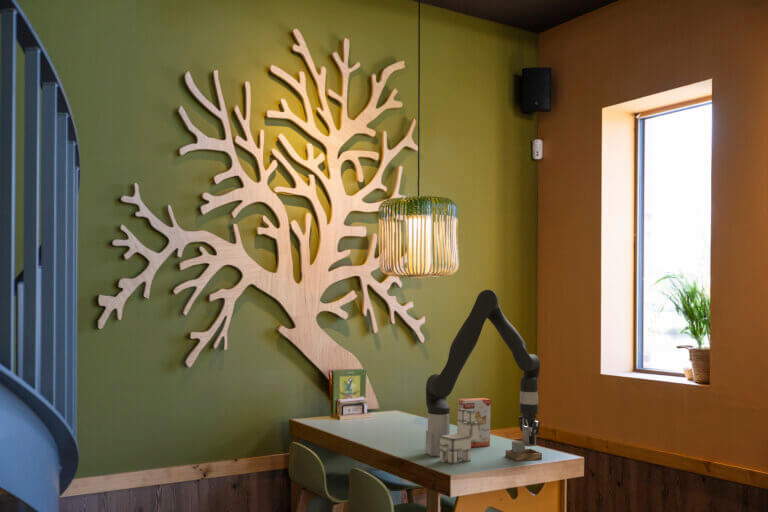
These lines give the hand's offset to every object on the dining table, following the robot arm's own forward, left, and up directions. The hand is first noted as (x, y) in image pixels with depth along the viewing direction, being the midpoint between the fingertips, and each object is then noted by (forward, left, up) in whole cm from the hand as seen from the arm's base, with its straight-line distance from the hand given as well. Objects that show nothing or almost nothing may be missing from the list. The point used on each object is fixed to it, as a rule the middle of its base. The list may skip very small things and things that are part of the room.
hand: (529, 443), depth 305 cm
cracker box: (-13, +27, -6) cm, 30 cm away
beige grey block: (0, 0, -1) cm, 1 cm away
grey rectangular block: (-5, 0, -5) cm, 7 cm away
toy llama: (-32, +2, -6) cm, 32 cm away
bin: (-3, 0, -6) cm, 6 cm away
